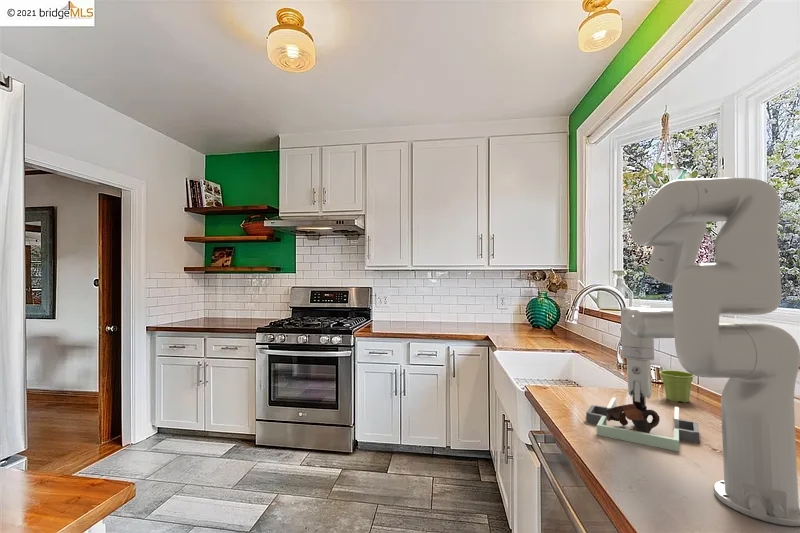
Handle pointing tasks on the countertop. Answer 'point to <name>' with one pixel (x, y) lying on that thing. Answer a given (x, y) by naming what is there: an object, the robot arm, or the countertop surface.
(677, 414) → the pale green flat frame
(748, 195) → the robot arm
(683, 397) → the plant pot
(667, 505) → the countertop surface
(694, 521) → the countertop surface
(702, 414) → the countertop surface
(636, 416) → the pottery mug
